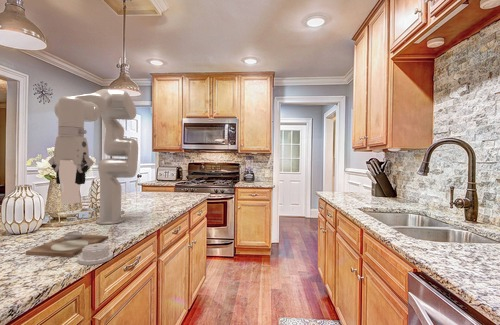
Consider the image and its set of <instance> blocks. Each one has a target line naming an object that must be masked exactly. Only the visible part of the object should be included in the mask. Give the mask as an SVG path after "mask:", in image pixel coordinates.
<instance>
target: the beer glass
mask: <svg viewBox="0 0 500 325" xmlns="http://www.w3.org/2000/svg"><path fill="white" fill-rule="evenodd" d="M77 173H79V171H78V169H77V166H76V165H74V162H73V160H59V181H60V184H59V185H60V190H61V195H60V201H59V203H60V204H61V205H72V204H80V203H82V202H81V196H80V195H81V194H80V190H81V185H82V184H80V185H79V184H77Z"/></svg>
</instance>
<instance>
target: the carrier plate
mask: <svg viewBox="0 0 500 325" xmlns="http://www.w3.org/2000/svg"><path fill="white" fill-rule="evenodd" d="M108 239H109V235H103V234H100V235H99V234H83V233H82V232H72V233H66V234H65V235H63V236H62V237H59V238H56V239H54V240H52V241H49V242H47V243H44V244H43V243H42V244H41V245H39V246H36V247H33V248H30V249H28V250H26V251H25V256H43V257H58V258H59V257H62V258H73V257H75V256H77V255H79V254H82V248H84V246H87V245H91V244H95V243H96V244H97V243H104V241H106V240H108Z"/></svg>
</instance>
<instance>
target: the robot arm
mask: <svg viewBox="0 0 500 325" xmlns="http://www.w3.org/2000/svg"><path fill="white" fill-rule="evenodd" d="M54 114H55V116H56V117H57V118H58V119H57V122H58V123H57V124H58V125H57V128H58V129H57V130H58V131H57V136H56V139H55V143H54V148H53V149H54V150H53V156H52V157H51V158H49V159H48V163H49V166H51V168H52V169H53V170H54V173H56V174H55V176H56V178H55V180H56V182H55V184H58V185H60V181H59V160H73V162H74V165H76V166H77V169H78V171H79V173H77V184H79V185H80V184H81V185H85V184H86V173H88V171H89V170H90V169H91V167H92V166H93V165H94V163H95V162H94V160H93V159H91V157H90V155H89V154H90V152H89V143H88V141H87V137H85V135H86V134H87V130H86V129H85V122H89V123H91V122H96V121H97V120H99V117H101V120H102V121H103V124H104V127H105V134H104V142H103V144H104V145H103V151H104V154H105V155H106V156H109V157H111V158H104V159H101V160H100V161H99V162H98V163H97V164H98V165H97V170H98V176H99V218H97V219H96V220H95V223H96V224H98V225H115V224H119V223H123V222H124V221H125V217H123V216H122V215H124V214H125V210H122V185H121V183H120V181H119V180H118V179H119V178H121V179H122V178H123V179H125V178H126V179H128V178H130V179H131V178H134V177H135V176H136V175H137V171H138V170H137V169H138V158H139V143H138V142H137V140H136V139H135V138H131V137H130V138H129V137H125V128H124V127H123V125H122V124H121V123H120V122H119V121H118V120H125V121H126V120H127V121H128V120H130V121H131V120H134V119H135V118H136V116H137V108H136V105H135V103H134V101H133V100H132V97H131V96H130V94H129V93H128V92H127V91H126V90H124V89H114V88H113V89H112V88H110V89H109V88H102V89H99V90H97V91H95V92H92V93H86V94H78V95H73V96H61V97H60V98H58V100H57V102H56V103H55V106H54ZM112 157H119V158H112ZM120 157H121V158H120ZM122 157H124V158H122ZM117 178H118V179H117ZM81 185H80V186H81Z"/></svg>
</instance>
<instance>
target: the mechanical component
mask: <svg viewBox="0 0 500 325" xmlns="http://www.w3.org/2000/svg"><path fill="white" fill-rule="evenodd" d="M113 257H114V253H113V251H111V250H110V245H109V244H108V243H105V242H101V243H97V244H96V243H95V244H91V245H87V246H84V248H82V252H81V254H80V255H79V256H77V263H78V264H80V265H83V266H87V265H88V266H92V265H93V266H94V265H99V264H103V263H105V262H108V261H110V260H112V259H113Z"/></svg>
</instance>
